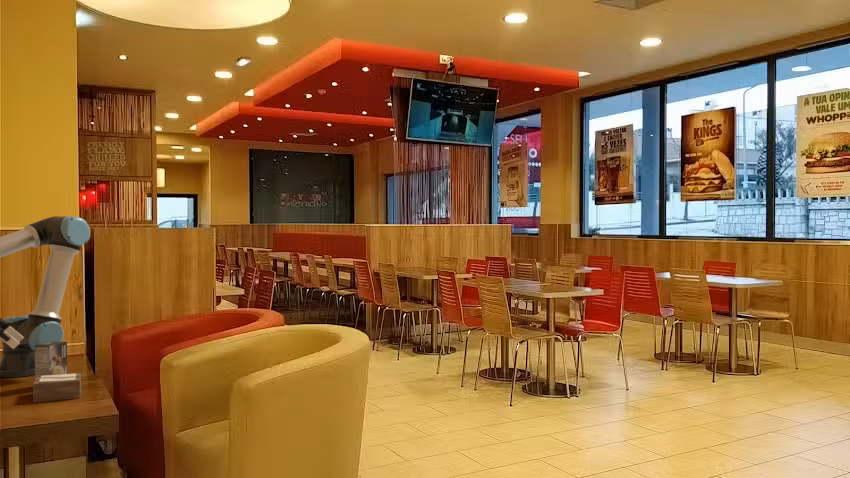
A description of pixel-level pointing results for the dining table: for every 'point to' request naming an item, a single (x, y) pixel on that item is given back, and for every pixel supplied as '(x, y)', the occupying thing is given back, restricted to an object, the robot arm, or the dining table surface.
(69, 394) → the pedestal
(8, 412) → the dining table surface
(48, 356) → the coffee box
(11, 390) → the dining table surface
